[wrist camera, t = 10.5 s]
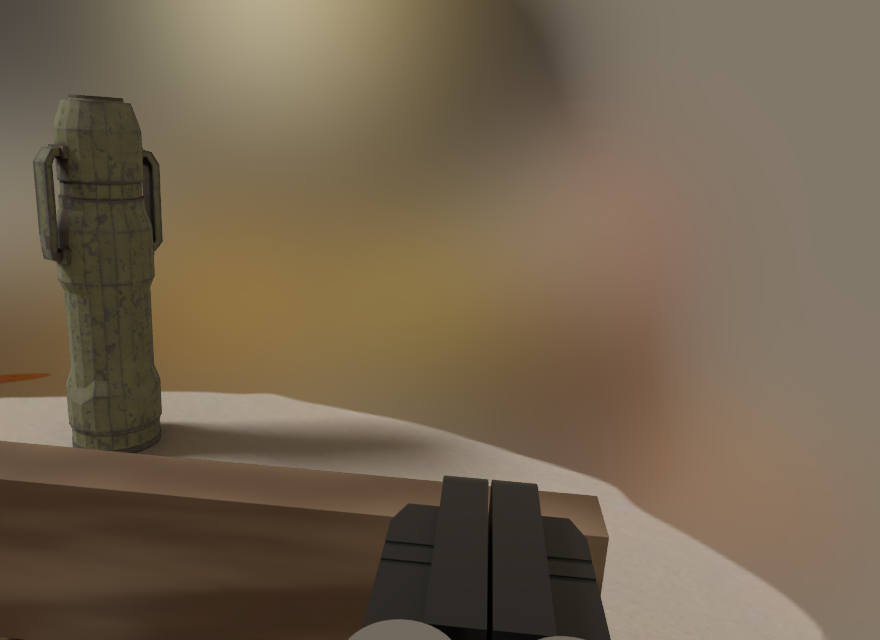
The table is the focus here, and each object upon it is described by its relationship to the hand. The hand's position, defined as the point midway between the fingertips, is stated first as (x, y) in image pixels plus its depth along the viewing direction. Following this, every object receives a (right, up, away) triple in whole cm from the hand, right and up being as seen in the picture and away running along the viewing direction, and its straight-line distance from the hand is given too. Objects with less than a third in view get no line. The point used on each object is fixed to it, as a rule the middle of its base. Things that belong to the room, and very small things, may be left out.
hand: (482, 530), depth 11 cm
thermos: (-35, -9, +64) cm, 73 cm away
